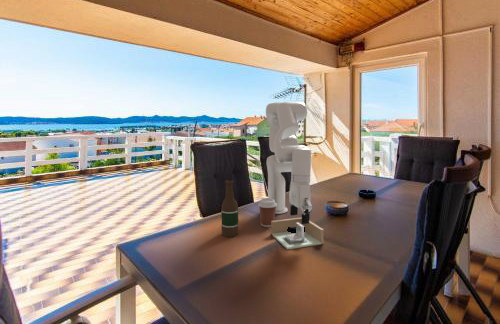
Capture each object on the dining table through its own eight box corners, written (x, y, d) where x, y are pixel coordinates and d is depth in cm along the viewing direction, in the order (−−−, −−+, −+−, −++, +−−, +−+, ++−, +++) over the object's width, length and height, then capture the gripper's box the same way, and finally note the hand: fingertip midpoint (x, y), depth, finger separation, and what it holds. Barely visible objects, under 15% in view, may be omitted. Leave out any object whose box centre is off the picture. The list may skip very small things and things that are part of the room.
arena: (271, 234, 118) (271, 221, 117) (303, 229, 122) (303, 217, 122) (287, 249, 102) (287, 234, 102) (323, 243, 107) (323, 229, 107)
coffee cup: (254, 224, 130) (254, 200, 128) (266, 220, 136) (266, 196, 135) (268, 229, 123) (268, 203, 122) (280, 224, 130) (280, 200, 128)
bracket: (298, 236, 113) (298, 222, 112) (304, 240, 108) (304, 226, 107) (285, 238, 111) (285, 224, 110) (290, 242, 106) (290, 228, 105)
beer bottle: (241, 231, 120) (241, 179, 118) (235, 238, 113) (234, 182, 110) (225, 229, 123) (224, 178, 120) (218, 236, 116) (217, 181, 113)
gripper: (283, 174, 114) (282, 213, 117) (302, 184, 98) (301, 228, 101) (298, 173, 117) (297, 211, 119) (320, 182, 100) (318, 225, 103)
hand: (299, 219), depth 110 cm, fingers open, 9 cm apart
